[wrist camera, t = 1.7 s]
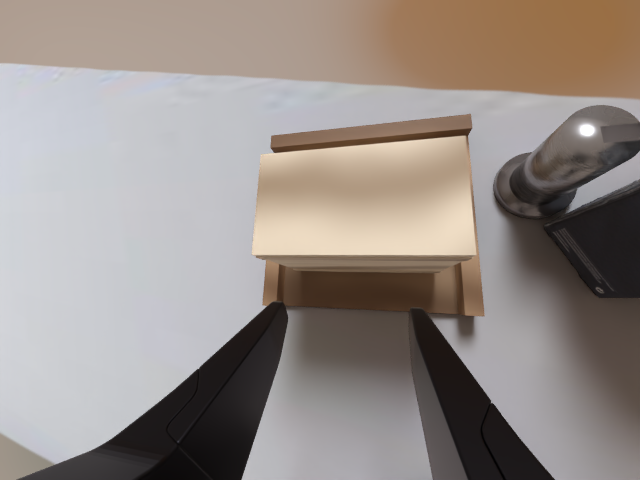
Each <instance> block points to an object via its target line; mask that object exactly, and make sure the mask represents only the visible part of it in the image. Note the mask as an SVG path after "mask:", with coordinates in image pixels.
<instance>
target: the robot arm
mask: <svg viewBox="0 0 640 480" xmlns="http://www.w3.org/2000/svg"><path fill="white" fill-rule="evenodd" d="M287 323H288V315H287V311H286V308H285V304H284V302H282V301H273V302H271V303H270V304H269V305H268V306H267V307H266V308H265V309H264V310H262V311H261V312H260V313H259V314H258V315H257V316H256V317H255V318H254V319H253V320H251V321H250V322H249V323H248V324H247V325H246V326H245V327H244V328H243V329H241V330H240V331H239V332H238V333H237V334H236V335H235V336H234V337H233V338H231V339H230V340H229V341H228V342H227V343H226V344H225V345H224V346H223V347H222V348H220V349H219V350H218V351H217V352H216V353H215V354H214V355H213V356H212V357H210V358H209V359H208V360H207V361H206V362H205V363H204V364H203V365H202V366H200V368H199V369H197V370H196V371H195V372H194V373H193V374H192V375H190V376H189V377H188V378H187V379H186V380H185V381H184V382H182V383H181V384H180V385H179V386H178V387H177V388H176V389H174V390H173V391H172V392H171V393H169V394H168V395H167V396H166V397H165V398H163V399H162V400H161V401H160V402H158V403H157V404H156V405H155V406H153V407H152V408H151V409H149V410H148V411H147V412H146V413H144V414H143V415H142V416H141V417H139V418H138V419H137V420H135V421H134V422H133V423H132V424H130V425H129V426H128V427H126V428H125V429H124V430H123V431H121V432H120V433H119V434H117V435H116V436H115V437H113V438H112V439H110V440H109V441H107V442H106V443H104V444H102V445H101V446H99V447H97V448H95V449H93V450H91V451H89V452H86V453H84V454H81V455H79V456H76V457H74V458H71V459H69V460H66V461H63V462H61V463H58V464H56V465H53V466H51V467H48V468H45V469H43V470H40V471H38V472H35V473H32V474H30V475H27V476H25V477H22V478H20V479H17V480H241V479H242V476H243V473H244V470H245V467H246V464H247V461H248V458H249V454H250V451H251V448H252V445H253V442H254V439H255V436H256V433H257V430H258V427H259V423H260V420H261V417H262V414H263V411H264V408H265V405H266V402H267V399H268V395H269V392H270V389H271V386H272V383H273V380H274V377H275V374H276V371H277V368H278V364H279V361H280V357H281V352H282V348H283V343H284V338H285V333H286V328H287ZM409 340H410V353H411V366H412V374H413V380H414V385H415V390H416V395H417V401H418V406H419V411H420V416H421V421H422V426H423V431H424V436H425V441H426V446H427V452H428V457H429V462H430V467H431V472H432V477H433V480H555V479H554V478H553V477H552V476H551V475H550V473H549V472H548V471H547V470H546V469H545V468H544V467H543V465H542V464H541V463H540V462H539V461H538V460H537V458H536V457H535V456H534V455H533V454H532V452H531V451H530V450H529V449H528V448H527V446H526V445H525V444H524V443H523V442H522V441H521V439H520V438H519V437H518V436H517V434H516V433H515V432H514V430H513V429H512V428H511V426H510V425H509V424H508V423H507V421H506V420H505V419H504V417H503V416H502V415H501V413H500V412H499V411H498V409H497V408H496V406H495V405H494V404H493V403H491V400H490V399H489V397H488V396H487V394H486V393H485V392H484V390H483V389H482V388H481V386H480V385H479V384H478V382H477V381H476V380H475V378H474V377H473V375H472V374H471V373H470V371H469V370H468V369H467V367H466V366H465V365H464V363H463V362H462V361H461V359H460V358H459V356H458V355H457V354H456V352H455V351H454V350H453V348H452V347H451V346H450V344H449V343H448V342H447V340H446V339H445V337H444V336H443V335H442V333H441V332H440V331H439V329H438V328H437V327H436V325H435V324H434V323H433V321H432V320H431V318H430V317H429V316H428V314H427V313H426V312H425V310H424V309H423V308H420V307H411V308H410V311H409Z"/></svg>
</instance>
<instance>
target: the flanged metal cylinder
mask: <svg viewBox="0 0 640 480" xmlns="http://www.w3.org/2000/svg"><path fill="white" fill-rule="evenodd" d="M639 151H640V122H639V121H638V120H637V119H636V118H635V117H634V116H633V115H632V114H630V113H629V112H627V111H625V110H623V109H620V108H617V107H613V106H607V105H597V106H590V107H586V108H583V109H581V110H579V111H577V112H575V113H574V114H572V115H571V116H570V117H569V118H568V119H567V120H566V121H565V122H564V123H563V124H562V125H561V126H560V127H559V128H558V129H556V130H555V131H554V132H553V133H552V134H551V135H550V136H549V137H548V138H547V139H546V140H545V141H544V142H543V143H542V144H541V145H540V146H539V147H538V148H537V149H536V150H535V151H533V152H530V153H524V154H521V155H518V156H516V157H514V158H512V159H511V160H509V161H508V162H507V163H506V164H505V165H504V166H503V167H502V168H501V169H500V170H499V172H498V173H497V175H496V177H495V180H494V185H493V186H494V194H495V196H496V198H497V200H498V202H499V203H500V204H501V206H502V207H503V208H505V209H506V210H507V211H509V212H510V213H512V214H514V215H516V216H519V217H523V218H529V219H538V218H544V217H548V216H550V215H553V214H555V213H557V212H559V211H561V210H562V209H564V208H566V207H567V206H568V205H569V204H570V203H571V202H572V200H573V199H574V197H575V195H576V191H577V188H579V187H581V186H582V185H584V184H586V183H588V182H590V181H591V180H593V179H595V178H597V177H599V176H600V175H602V174H604V173H606V172H608V171H609V170H611V169H613V168H615V167H617V166H618V165H620V164H622V163H624V162H626V161H627V160H629V159H631V158H632V157H634V156H635V155H636V154H637V153H638V152H639Z"/></svg>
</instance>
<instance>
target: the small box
mask: <svg viewBox="0 0 640 480" xmlns="http://www.w3.org/2000/svg"><path fill="white" fill-rule="evenodd" d="M544 228H545V230H546V231H547V233H548V234H549V235H550V236H551V237H552V238H553V239H554V240H555V242H556V244H557V245H558V246H559V247H560V248H561V250H562V251H563V252H564V254H565V255H566V256H567V258H568V259H569V260H570V262H571V263H572V265H573V266H574V267H575V268H576V270H577V271H578V272H579V274H580V276H581V278H582V279H583V280H584V281H585V282H586V283H587V285H588V286H589V287H590V288H591V289H592V290H593V292H594V293H595V294H596V295H597V296H598V297H599V298H640V180H638V181H634V182H633V183H631V184H629V185H627V186H625V187H623V188H620V189H618V190H616V191H614V192H612V193H610V194H607V195H605V196H603V197H601V198H597V199H596V200H594V201H592V202H590V203H588V204H585V205H582V206H581V207H579V208H577V209H575V210H573V211H571V212H569V213H567V214H565V215H563V216H561V217H559V218H557V219H555V220H553V221H551V222H548V223H546V224H545V225H544Z"/></svg>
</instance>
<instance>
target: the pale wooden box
mask: <svg viewBox="0 0 640 480" xmlns="http://www.w3.org/2000/svg"><path fill="white" fill-rule="evenodd" d="M252 255H254V256H256V258H259V259H263V260H269V261H272V262H275V263H278V264H281V265H284V266H287V267H290V268H293V270H297V271H331V272H390V273H440V272H442V270H444V269H446V268H449V267H451V266H453V265H455V264H458V263H460V262H462V261H468V260H470V259H473V257H474V256H476V245H475V234H474V223H473V211H472V200H471V189H470V178H469V167H468V156H467V144H466V136H455V137H444V138H434V139H423V140H412V141H401V142H390V143H379V144H369V145H358V146H347V147H336V148H325V149H314V150H303V151H293V152H282V153H271V154H261V160H260V170H259V181H258V192H257V203H256V213H255V224H254V235H253V245H252Z"/></svg>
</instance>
